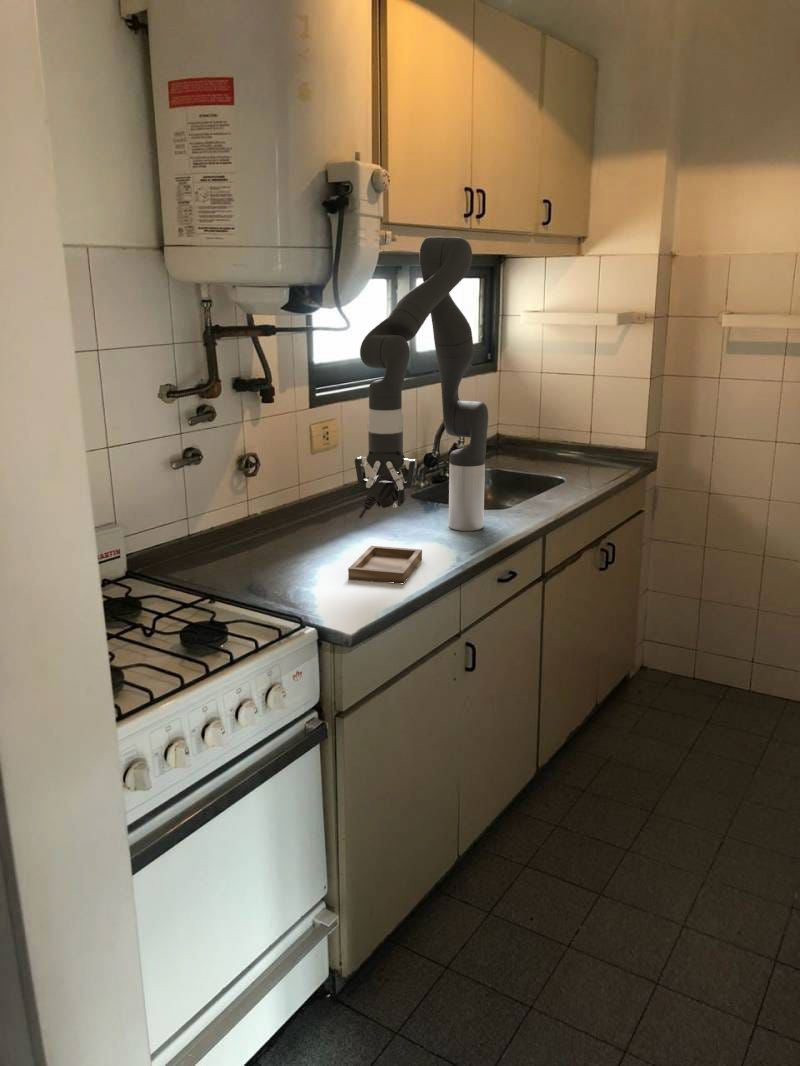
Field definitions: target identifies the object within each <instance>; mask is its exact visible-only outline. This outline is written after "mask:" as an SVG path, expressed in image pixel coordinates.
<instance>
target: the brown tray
mask: <svg viewBox="0 0 800 1066" xmlns="http://www.w3.org/2000/svg"><path fill="white" fill-rule="evenodd" d="M422 561H423V549H420V548H419V549H418V548H406V547H404V548H403V547H394V546H393V547H392V546H382V545H380V546H379V545H378V546H377V545H370V546H369V547H368V548H367V549H366V550H365V551H364V552H363V553H362V554H361V555H360V557H358V558H357V560H355V561H354V562H353V563H352V564H351V565H350V566H349V567H348V568H347V572H348V578H347V579H348V580H351V581H362V582H372V581H373V582H374V583H383V582H394V583H393V584H395V583H404V582H405V583H406V582H407V580H408V579H409V578H410V576H411V575H412V573H414V571H415V570H416V569H417V567H418V566H419V564H420V563H421V562H422ZM407 578H408V579H407ZM406 579H407V580H406ZM405 583H404V584H405Z"/></svg>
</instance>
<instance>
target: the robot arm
mask: <svg viewBox="0 0 800 1066" xmlns="http://www.w3.org/2000/svg"><path fill="white" fill-rule="evenodd" d="M418 256H419V267H420V273H421V277H422V280H423V282H422V283H420V284H418V285H417V286H415V287H414V288H412V289H410V290H409V291H408V292H407V293H406V294H405V295H403V296H402V297H401V298H400V300H399V301H398V302H397V303H396V305H395V306H394V307H393V310H392V311H391V312H390V314H389V316H387V318H385V319H384V320H382V321H381V322H380V323H379V324H377V325H376V326H375V327H374V328H373V329H371V330H370V331H369V332H368V333H367V334H366V336H365V337H364V338H363V340H362V342H361V345H360V347H359V356H360V360H361V361H362V363H363V364H364V365H365V366H366V367H368V368H372V369H385V374H384V376H383V377H382V379H377V380H373V381H372V382H370V383H369V385H368V408H369V409H368V417H367V419H368V420H367V431H368V434H367V436H368V437H367V439H368V440H367V441H368V446H367V447H368V452H367V453H368V454H367V455H366V456H358V457H356V458H355V459H354V466H355V472H356V478H357V479H356V480H357V484H358V485H359V486H364V487H365V489H366V496H367V495H368V494H369V490H370V489H371V487H372V486H373V484H374V482H376V481H377V478H378V477H379V476H380V477H381V476H387V477H392V479H393V481H394V482H395V483H396V486H397V491H398V500H397V507H402V506H403V505H404V504H405V502H407V501H406V500H407V498H406V497H407V489H408V488H409V489H410V488H411V487H412V486H413V485H414V484H415V481H416V474H417V466H418V460H417V459H416V458H413V459H410V458H406V457H405V455H404V416H403V406H402V405H403V404H402V403H403V402H402V396H403V395H402V389H403V385H404V380H405V377H406V372H407V370H408V365H409V361H410V356H411V355H410V352H411V351H410V350H411V349H410V345H409V343H408V342H410V341H412V339H414V338H415V336H416V335H417V333H418V332H419V331H420V329H421V328H422V326H423V324H424V323H425V322H426V320H427V318H428V317H429V315H430V318H431V325H432V333H433V342H434V348H435V355H436V359H437V364H438V371H439V372H438V373H439V378H440V379H439V380H440V388H441V400H442V403H441V404H442V405H441V406H442V418H443V419H442V420H443V425H444V429H445V432H446V433H447V434H448V435H449V436H452V437H459V438H470V440H469V443H468V445H466V446H464V447H462V448H457V449H454V450H452V451H451V452H450V453H449V469H448V470H449V471H448V472H449V473H448V474H449V477H448V478H449V479H448V480H449V481H448V491H449V493H448V528H450V529H452V530H456V531H462V532H463V531H464V532H465V531H466V532H469V531H471V532H472V531H478V530H481V529H483V528H484V516H485V515H484V514H485V476H486V475H485V474H486V473H485V471H486V453H487V440H488V439H487V438H488V428H489V427H488V426H489V410H488V406H487V405H486V403H484V402H482V401H472V400H460V398H459V387H460V384H461V382H462V379H463V377H464V375H465V374H466V372H467V370H468V369H469V367H470V365H471V363H472V361H473V359H474V355H475V354H474V351H475V349H474V341H473V333H472V328H471V325H470V323H469V321H468V320H467V318H466V316H465V315H464V313H463V312H462V310H461V309H460V308H459V306H458V305H457V304H456V302H455V301H454V299H453V297H452V296H451V294H450V293H451V292H452V290H453V289H454V288H456V287H457V285H459V283H460V282H461V281H462V280H463V279H464V278H465V277H466V276H467V274H468V272H469V271H470V268H471V265H472V261H473V250H472V246H471V244H470V242H469V241H468V240H467V239H465V238H464V237H458V236H434V235H433V236H427V237H425V238H424V239H422V242H421V244H420V246H419V255H418ZM367 463H368V465H369V467H371V472H370V473H369V475H368V478H367V475H366V470H365V469H366V468H365V466H366V465H367ZM403 465H405V468H406V470H407V477H406V481H405V478H404V474H403V472H402V470H401V468H402V466H403Z"/></svg>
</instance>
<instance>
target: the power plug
mask: <svg viewBox="0 0 800 1066" xmlns="http://www.w3.org/2000/svg"><path fill="white" fill-rule="evenodd" d="M396 502H398V488H396V485H395V483H394V482H393V481H389V480H379V481H377V480H376V481H375V482H374V484H373V486H372V487H371V489H370V490H369V494H368V495H367V494H366V497H365V500H364V503H363V505H362V507H363V510H362V511H361V512H360V514H359V515H358V518H359V519H362V518H363V517H364V516H365V514H366V512H367V511H369V510H371V509H372V508H373V507H374V506H376V507H378V508H380V507H381V508H382V509H385V508H389V507H391V506H392V507H393V508H394V509H395V508H396V509H397V507H398V504H397V503H396Z"/></svg>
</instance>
